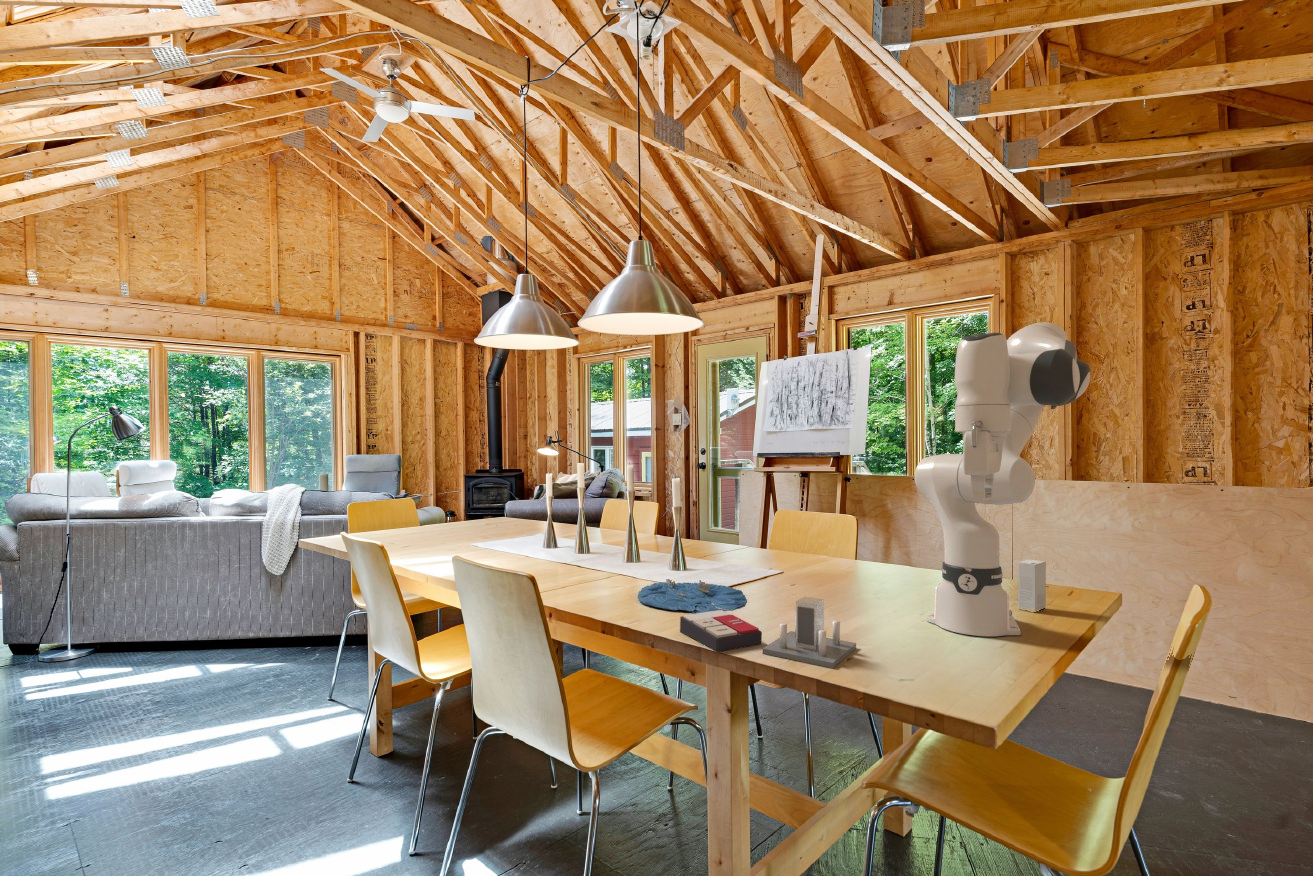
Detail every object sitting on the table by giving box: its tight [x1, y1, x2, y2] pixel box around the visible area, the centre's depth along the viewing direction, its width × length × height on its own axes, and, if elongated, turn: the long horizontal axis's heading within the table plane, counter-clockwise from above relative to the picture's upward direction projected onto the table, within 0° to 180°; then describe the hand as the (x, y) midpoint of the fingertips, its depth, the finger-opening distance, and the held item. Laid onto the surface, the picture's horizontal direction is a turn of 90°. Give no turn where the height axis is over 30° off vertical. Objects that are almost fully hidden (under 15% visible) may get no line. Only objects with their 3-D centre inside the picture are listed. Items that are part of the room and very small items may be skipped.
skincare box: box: [1017, 559, 1047, 611], centre depth 153 cm, size 6×4×12 cm
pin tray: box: [761, 614, 857, 669], centre depth 122 cm, size 14×14×6 cm
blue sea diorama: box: [637, 578, 747, 614], centre depth 164 cm, size 30×30×5 cm
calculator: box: [679, 610, 763, 653], centre depth 130 cm, size 11×4×15 cm
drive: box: [795, 596, 825, 651], centre depth 122 cm, size 5×4×9 cm
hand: (982, 499), depth 110 cm, fingers open, 8 cm apart
